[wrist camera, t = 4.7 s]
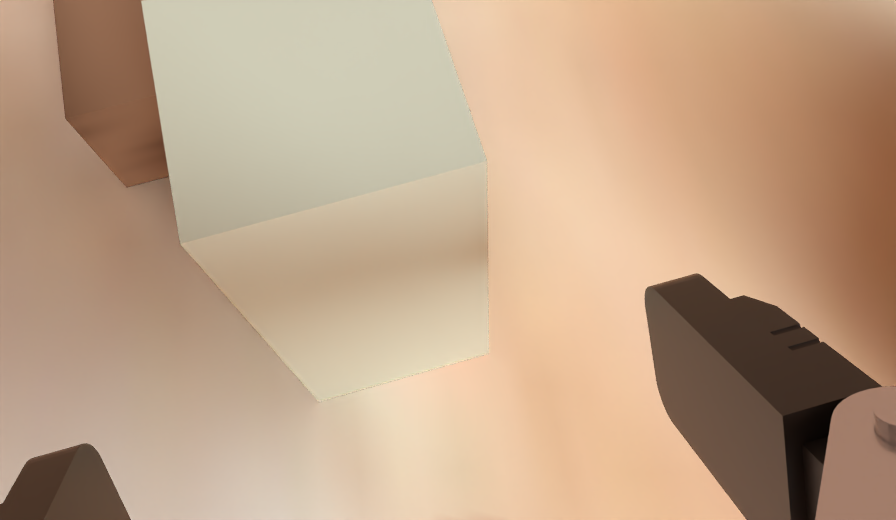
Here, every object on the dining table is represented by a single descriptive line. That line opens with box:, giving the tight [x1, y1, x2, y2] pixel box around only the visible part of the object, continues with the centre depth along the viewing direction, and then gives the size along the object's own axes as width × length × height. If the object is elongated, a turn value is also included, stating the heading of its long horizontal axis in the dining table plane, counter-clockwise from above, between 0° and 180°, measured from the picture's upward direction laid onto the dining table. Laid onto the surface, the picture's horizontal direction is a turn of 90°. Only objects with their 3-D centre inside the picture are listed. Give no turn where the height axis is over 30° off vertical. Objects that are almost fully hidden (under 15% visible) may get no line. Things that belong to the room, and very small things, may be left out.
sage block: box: [141, 0, 489, 402], centre depth 19 cm, size 5×5×11 cm
